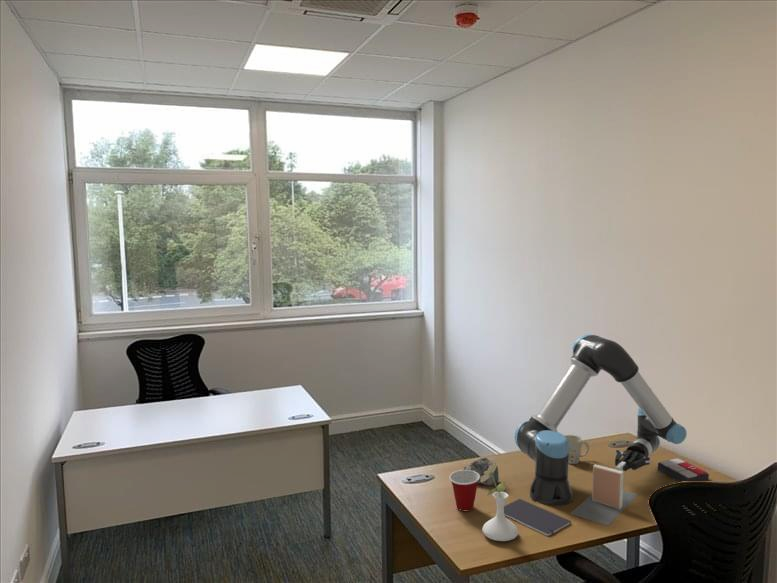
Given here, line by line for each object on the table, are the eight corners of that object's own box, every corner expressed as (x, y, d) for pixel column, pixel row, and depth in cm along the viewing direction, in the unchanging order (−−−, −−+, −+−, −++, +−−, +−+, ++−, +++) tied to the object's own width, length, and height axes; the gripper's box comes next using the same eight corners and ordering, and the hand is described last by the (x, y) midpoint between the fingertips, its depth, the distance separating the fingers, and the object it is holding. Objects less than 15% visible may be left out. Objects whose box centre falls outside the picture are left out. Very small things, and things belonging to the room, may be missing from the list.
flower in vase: (502, 523, 197) (503, 451, 194) (525, 539, 187) (526, 463, 184) (471, 533, 191) (471, 459, 188) (493, 550, 181) (493, 472, 178)
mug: (557, 458, 250) (557, 436, 249) (582, 455, 254) (582, 432, 253) (568, 466, 242) (569, 443, 241) (594, 462, 246) (595, 439, 245)
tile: (591, 500, 211) (592, 466, 209) (594, 498, 213) (595, 464, 211) (619, 509, 204) (621, 473, 203) (622, 506, 206) (623, 471, 205)
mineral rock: (459, 479, 231) (459, 455, 230) (478, 472, 238) (479, 448, 237) (483, 491, 221) (484, 465, 220) (503, 483, 228) (503, 458, 226)
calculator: (689, 477, 223) (657, 460, 237) (688, 487, 224) (656, 470, 238) (709, 472, 227) (677, 456, 241) (708, 482, 228) (676, 466, 242)
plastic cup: (443, 503, 211) (443, 471, 210) (470, 498, 215) (470, 467, 214) (457, 517, 201) (457, 484, 200) (485, 511, 205) (485, 479, 204)
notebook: (570, 525, 196) (519, 502, 213) (570, 520, 196) (519, 498, 212) (548, 538, 188) (496, 513, 205) (548, 533, 188) (496, 509, 204)
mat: (570, 515, 202) (570, 513, 202) (602, 486, 224) (602, 484, 224) (607, 527, 194) (608, 525, 193) (637, 496, 215) (637, 494, 215)
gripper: (656, 464, 228) (635, 485, 210) (622, 456, 236) (599, 476, 219) (656, 445, 227) (636, 465, 209) (622, 438, 235) (600, 456, 218)
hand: (617, 471), depth 214 cm, fingers closed
